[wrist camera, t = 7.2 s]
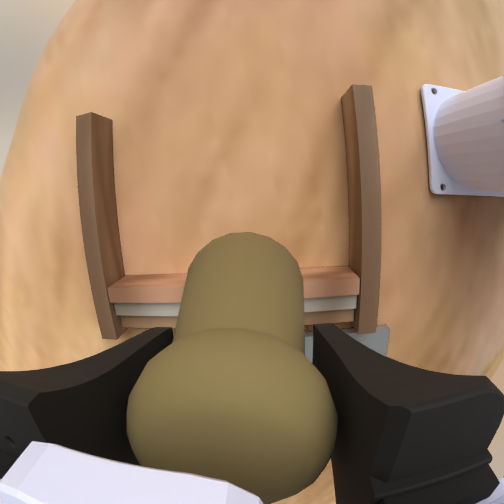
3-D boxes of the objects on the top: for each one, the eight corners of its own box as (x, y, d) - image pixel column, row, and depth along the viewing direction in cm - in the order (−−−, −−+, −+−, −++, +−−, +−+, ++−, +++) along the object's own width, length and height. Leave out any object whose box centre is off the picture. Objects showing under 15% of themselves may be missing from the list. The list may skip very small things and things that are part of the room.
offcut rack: (358, 98, 18) (371, 85, 15) (363, 314, 21) (375, 332, 18) (98, 123, 19) (76, 116, 16) (119, 321, 22) (102, 338, 19)
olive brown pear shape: (311, 330, 16) (365, 511, 6) (203, 349, 17) (157, 527, 6) (292, 219, 15) (372, 341, 4) (171, 246, 15) (40, 382, 5)
